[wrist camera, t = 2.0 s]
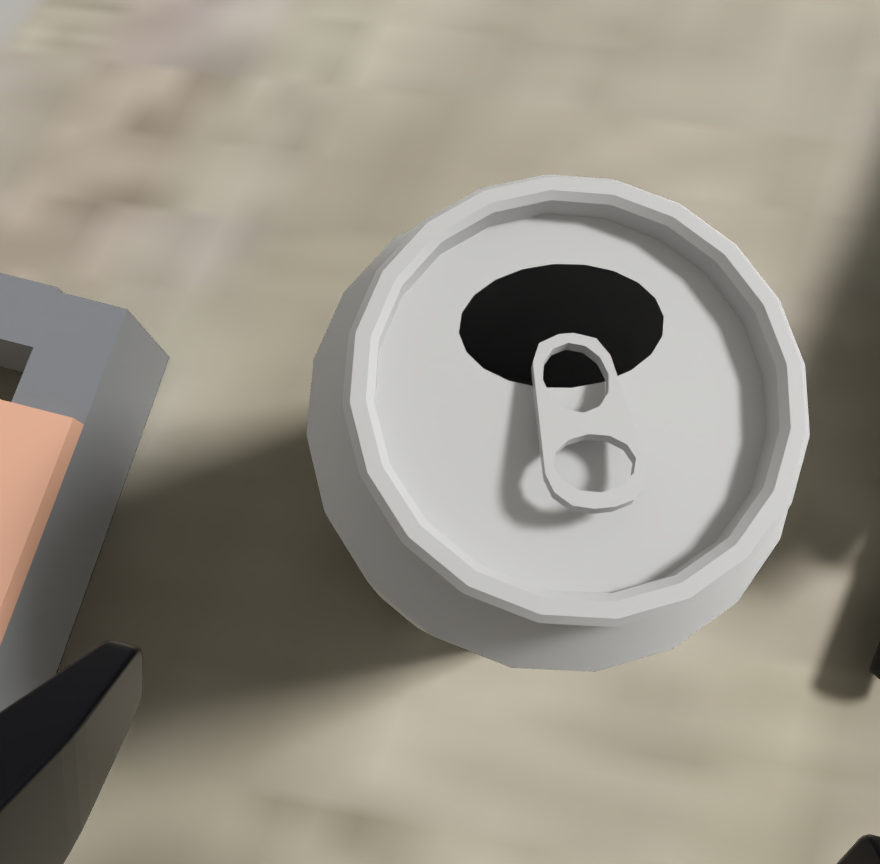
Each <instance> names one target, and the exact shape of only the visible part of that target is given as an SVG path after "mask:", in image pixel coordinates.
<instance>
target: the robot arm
mask: <svg viewBox="0 0 880 864" xmlns="http://www.w3.org/2000/svg"><path fill="white" fill-rule="evenodd" d="M142 671H143V656H142V651H141V649H140V648H139V647H137V646H134V645H130V644H126V643H122V642H118V641H113V640H110V641H106V642H104V643H102V644H100V645H99V646H97V647H96V648H94V649H93V650H91V651H90V652H88V653H87V654H85V655H84V656H82V657H81V658H79V659H78V660H76V661H75V662H73V663H72V664H70V665H69V666H67V667H66V668H65V669H63V670H62V671H60V672H59V673H57V674H56V675H54V676H53V677H51V678H50V679H48V680H47V681H45V682H44V683H42V684H41V685H39V686H38V687H36V688H35V689H33V690H32V691H30V692H29V693H27V694H26V695H24V696H23V697H21V698H20V699H18V700H17V701H15V702H14V703H12V704H11V705H10V706H8V707H7V708H5V709H4V710H2V711H1V712H0V864H63V863H64V862H65V860H66V858H67V857H68V855H69V853H70V851H71V850H72V848H73V846H74V844H75V842H76V840H77V839H78V837H79V835H80V833H81V831H82V829H83V827H84V825H85V823H86V821H87V819H88V817H89V815H90V812H91V810H92V808H93V806H94V804H95V801H96V799H97V797H98V795H99V793H100V790H101V788H102V786H103V784H104V782H105V779H106V777H107V775H108V773H109V771H110V769H111V766H112V764H113V762H114V760H115V758H116V755H117V753H118V751H119V749H120V747H121V744H122V742H123V740H124V738H125V736H126V733H127V731H128V729H129V727H130V725H131V722H132V720H133V718H134V716H135V714H136V711H137V709H138V706H139V703H140V700H141V696H142ZM837 864H880V837H879V836H875V835H869V834H868V835H864V836H862V837H861V838H860V839H858V841H857V842H856V843H855V844H854V845H853V846H852V847H851V848H850V849H849V851H848V852H847V853H846V854H845V855H844V856H843V857H842V858H841V859H840V860H839V862H838V863H837Z"/></svg>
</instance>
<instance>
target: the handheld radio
mask: <svg viewBox="0 0 880 864" xmlns="http://www.w3.org/2000/svg"><path fill="white" fill-rule="evenodd" d="M870 672H871V673H873V674H874V675H875V676H876V677H878V678H879V679H880V642H879V645H878V648H877V651H876V653H875V656H874V659H873V662H872V665H871V668H870Z"/></svg>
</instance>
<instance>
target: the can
mask: <svg viewBox="0 0 880 864" xmlns="http://www.w3.org/2000/svg"><path fill="white" fill-rule="evenodd" d="M306 435H307V440H308V444H309V448H310V453H311V457H312V461H313V465H314V470H315V474H316V478H317V482H318V487H319V491H320V495H321V499H322V504H323V508H324V512H325V514H326V515H327V517H328V519H329V520H330V522H331V523H332V525H333V527H334V528H335V530H336V532H337V533H338V535H339V536H340V538H341V540H342V541H343V543H344V545H345V546H346V548H347V549H348V551H349V553H350V554H351V556H352V557H353V559H354V561H355V562H356V564H357V566H358V567H359V569H360V570H361V572H362V574H363V575H364V577H365V579H366V580H367V582H368V583H369V584H370V585H371V587H372V588H373V589H374V590H375V591H376V592H377V594H378V595H379V596H380V597H381V598H382V599H383V600H384V601H386V602H387V603H388V604H389V605H390V606H392V607H393V608H394V609H395V610H396V611H398V612H399V613H400V614H401V615H402V616H403V617H405V618H406V619H407V620H408V621H409V622H411V623H412V624H413V625H414V626H415V627H417V628H419V629H421V630H422V631H424V632H426V633H428V634H429V635H431V636H433V637H435V638H438V639H441V640H443V641H446V642H448V643H451V644H453V645H456V646H458V647H461V648H463V649H466V650H468V651H471V652H473V653H476V654H478V655H481V656H483V657H486V658H488V659H491V660H494V661H496V662H499V663H501V664H504V665H506V666H509V667H511V668H531V669H551V670H570V671H590V672H596V671H599V670H603V669H606V668H609V667H613V666H616V665H620V664H623V663H626V662H630V661H633V660H637V659H640V658H644V657H647V656H650V655H654V654H657V653H661V652H664V651H667V650H671V649H674V648H675V647H676V646H678V645H679V644H681V643H682V642H683V641H685V640H686V639H687V638H689V637H690V636H692V635H693V634H694V633H696V632H697V631H698V630H700V629H701V628H703V627H704V626H705V625H707V624H708V623H709V622H711V621H712V620H714V619H715V618H716V617H718V616H719V615H720V614H722V613H723V612H725V611H726V610H727V609H729V608H730V607H731V606H733V605H734V604H736V603H737V602H738V600H739V599H740V597H741V596H742V594H743V593H744V592H745V590H746V589H747V587H748V586H749V584H750V583H751V581H752V580H753V578H754V577H755V575H756V574H757V572H758V571H759V569H760V568H761V567H762V565H763V564H764V562H765V561H766V559H767V558H768V556H769V555H770V553H771V552H772V550H773V549H774V547H775V546H776V544H777V543H778V542H779V540H780V538H781V534H782V531H783V527H784V523H785V519H786V516H787V512H788V508H789V507H790V505H791V504H792V501H793V497H794V493H795V489H796V486H797V482H798V478H799V474H800V470H801V467H802V463H803V459H804V455H805V452H806V448H807V444H808V440H809V436H810V430H809V415H808V400H807V385H806V371H805V363H804V361H803V358H802V356H801V353H800V351H799V348H798V346H797V343H796V341H795V338H794V335H793V333H792V330H791V328H790V325H789V323H788V320H787V318H786V315H785V313H784V310H783V307H782V305H781V302H780V300H779V299H778V297H777V296H776V295H775V293H774V292H773V291H772V290H771V288H770V287H769V286H768V284H767V283H766V282H765V281H764V279H763V278H762V277H761V276H760V274H759V273H758V272H757V270H756V269H755V268H754V267H753V265H752V264H751V263H750V261H749V260H748V259H747V258H746V256H745V255H744V254H743V253H742V251H741V250H740V249H739V247H738V246H737V245H736V244H735V243H733V242H732V241H731V240H729V239H728V238H727V237H725V236H724V235H722V234H721V233H720V232H718V231H717V230H716V229H714V228H713V227H711V226H710V225H709V224H707V223H706V222H705V221H703V220H702V219H700V218H699V217H698V216H696V215H695V214H694V213H692V212H691V211H689V210H688V209H687V208H685V207H684V206H683V205H681V204H680V203H677V202H674V201H672V200H669V199H666V198H663V197H661V196H658V195H655V194H653V193H650V192H647V191H645V190H642V189H639V188H637V187H634V186H631V185H628V184H626V183H623V182H620V181H618V180H615V179H602V178H589V177H576V176H564V175H551V174H545V175H541V176H536V177H531V178H526V179H522V180H517V181H512V182H508V183H503V184H498V185H493V186H489V187H484V188H480V189H478V190H477V191H475V192H473V193H471V194H469V195H468V196H466V197H464V198H462V199H460V200H459V201H457V202H455V203H453V204H452V205H450V206H448V207H446V208H444V209H443V210H441V211H439V212H437V213H435V214H434V215H432V216H430V217H428V218H426V219H425V220H423V221H422V222H421V223H420V224H419V225H418V226H416V227H415V228H413V229H411V230H409V231H407V232H406V233H404V234H402V235H400V236H398V237H397V238H395V239H393V240H392V241H391V242H390V243H389V244H388V245H387V246H386V248H385V249H384V250H383V251H382V252H381V253H380V254H379V255H378V256H377V257H376V258H375V259H374V260H373V262H372V263H371V264H370V265H369V266H368V267H367V268H366V269H365V270H364V271H363V272H362V273H361V274H360V276H359V277H358V278H357V279H356V280H355V281H354V282H353V283H352V284H351V285H350V286H349V287H348V288H347V290H346V291H345V292H344V293H343V296H342V298H341V300H340V302H339V304H338V307H337V309H336V311H335V313H334V315H333V318H332V320H331V322H330V324H329V326H328V329H327V331H326V333H325V335H324V338H323V340H322V342H321V344H320V346H319V349H318V351H317V353H316V355H315V357H314V361H313V372H312V382H311V392H310V403H309V413H308V423H307V434H306Z"/></svg>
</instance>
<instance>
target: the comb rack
mask: <svg viewBox="0 0 880 864" xmlns="http://www.w3.org/2000/svg"><path fill="white" fill-rule="evenodd" d="M168 359H169V356H168V355H167V354H166V353H165V351H164V350H163V349H162V348H161V347H160V346H159V345H158V343H157V342H156V341H155V340H154V339H153V338H152V337H151V335H150V334H149V333H148V332H147V331H146V330H145V329H144V328H143V326H142V325H141V324H140V323H139V322H138V321H137V320H136V318H135V317H134V316H133V315H132V314H131V313H130V312H129V310H128V309H124V308H120V307H116V306H112V305H108V304H105V303H101V302H97V301H93V300H89V299H85V298H81V297H77V296H73V295H69V294H65V293H63V292H62V291H61V290H60V289H59V288H58V287H54V286H50V285H46V284H42V283H38V282H34V281H30V280H26V279H22V278H18V277H14V276H10V275H6V274H3V273H0V367H4V368H8V369H12V370H16V371H20V372H23V374H22V377H21V379H20V382H19V384H18V387H17V389H16V392H15V394H14V396H13V399H12V401H11V402H9V401H5V400H1V399H0V712H1V711H2V710H4V709H5V708H7V707H8V706H10V705H11V704H12V703H14V702H15V701H17V700H18V699H20V698H21V697H23V696H24V695H26V694H27V693H29V692H30V691H32V690H33V689H35V688H36V687H38V686H39V685H41V684H42V683H44V682H45V681H47V680H48V679H50V678H51V677H53V676H54V675H56V673H57V670H58V667H59V664H60V661H61V659H62V656H63V653H64V650H65V647H66V645H67V642H68V639H69V636H70V633H71V631H72V628H73V625H74V622H75V619H76V617H77V614H78V611H79V608H80V606H81V603H82V600H83V597H84V594H85V592H86V589H87V586H88V583H89V580H90V578H91V575H92V572H93V569H94V566H95V564H96V561H97V558H98V555H99V552H100V550H101V547H102V544H103V541H104V538H105V536H106V533H107V530H108V527H109V524H110V522H111V519H112V516H113V513H114V510H115V508H116V505H117V502H118V499H119V496H120V494H121V491H122V488H123V485H124V482H125V480H126V477H127V474H128V471H129V469H130V466H131V463H132V460H133V457H134V455H135V452H136V449H137V446H138V443H139V441H140V438H141V435H142V432H143V429H144V427H145V424H146V421H147V418H148V415H149V413H150V410H151V407H152V404H153V401H154V399H155V396H156V393H157V390H158V387H159V385H160V382H161V379H162V376H163V373H164V371H165V368H166V365H167V362H168Z"/></svg>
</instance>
